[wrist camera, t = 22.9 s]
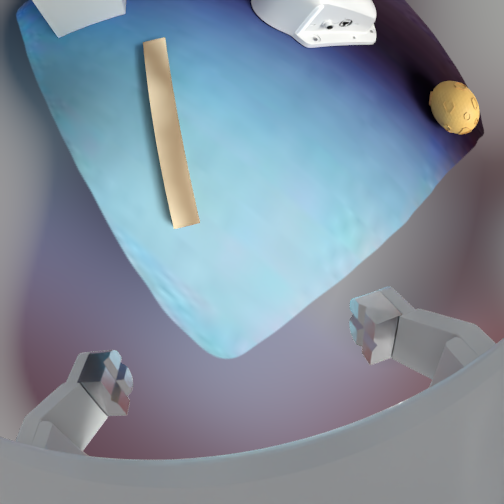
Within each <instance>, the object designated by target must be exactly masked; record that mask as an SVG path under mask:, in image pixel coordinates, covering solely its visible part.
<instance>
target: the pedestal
mask: <svg viewBox="0 0 504 504" xmlns="http://www.w3.org/2000/svg"><path fill="white" fill-rule="evenodd" d="M32 1H33V2H34V4H35V5H36V7H37V8H38V10H39V11H40V12H41V14H42V15H43V17H44V18H45V20H46V21H47V22H48V24H49V25H50V27H51V28H52V30H53V31H54V32H55V34H56V35H57V37H58V38H60V37H62V36H64V35H67V34H69V33H71V32H74V31H76V30H79V29H81V28H84V27H86V26H89V25H92V24H95V23H97V22H100V21H103V20H106V19H110V18H113V17H116V16H119V15H123V14H125V12H126V0H32Z"/></svg>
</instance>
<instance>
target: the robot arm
mask: <svg viewBox="0 0 504 504" xmlns="http://www.w3.org/2000/svg"><path fill="white" fill-rule="evenodd" d="M251 4H252V7H253V10H254V11H255V13H256V14H257V15H258V16H259V17H260V18H261V19H262V20H263V21H264V22H266V23H267V24H269V25H270V26H272V27H274V28H276V29H278V30H280V31H282V32H284V33H287V34H289V35H290V36H292V37H293V38H294V39H296V40H297V41H298V42H299V43H300V44H302V45H303V46H305V47H308V48H314V47H324V46H338V45H369V44H373V43H374V42H375V41H376V30H375V27H374V24H373V23H374V22H375V20H376V9H375V6H374V4H373V2H372V0H251ZM313 39H314V40H315V41H314V40H313ZM350 310H351V312H352V313H353V315H352V317H351V318H350V331H351V335H352V338H353V340H354V341H355V343H356V344H357V345H359V346H362V354H363V355H364V357H365V358H366V360H367V361H368V363H369V364H370V365H373V364H375V363H378V362H381V361H384V360H386V359H389V358H391V357H392V359H394V360H396V361H398V362H399V363H401V364H403V365H405V366H407V367H409V368H411V369H413V370H415V371H417V372H419V373H421V374H423V375H425V376H427V377H429V378H431V379H432V382H431V384H430V386H429V388H428V389H426V390H424V391H422V392H420V393H419V394H417V395H415V396H413V397H411V398H409V399H407V400H405V401H403V402H401V403H399V404H396V405H395V406H392V407H390V408H388V409H385V410H383V411H381V412H378V413H376V414H374V415H371V416H369V417H366V418H364V419H361V420H359V421H356V422H354V423H351V424H348V425H345V426H343V427H340V428H337V429H334V430H331V431H328V432H325V433H321V434H318V435H315V436H311V437H308V438H305V439H301V440H297V441H293V442H289V443H285V444H281V445H277V446H272V447H267V448H263V449H257V450H253V451H247V452H241V453H234V454H227V455H220V456H211V457H202V458H189V459H173V460H172V459H170V460H130V459H113V458H101V457H92V456H88V455H87V454H86V453H84V452H83V450H84V449H85V447H86V446H87V444H88V443H89V442H90V440H91V439H92V438H93V436H94V435H95V434H96V432H97V430H99V428H100V427H101V426H102V424H103V423H104V422H105V420H106V419H107V418H108V417H107V416H119V415H127V414H128V409H129V404H130V400H129V398H128V397H127V396H128V395H129V394H130V393H131V392H132V388H133V380H132V375H131V373H130V370H129V369H128V367H127V366H125V365H124V364H122V363H121V359H122V358H121V356H120V354H119V353H118V351H116V350H106V351H94V352H84V353H80V354H79V355H78V357H77V359H76V361H75V363H74V365H73V368H72V370H71V372H70V375H69V377H68V379H67V381H66V383H63V384H61V385H60V386H59V387H58V388H57V389H56V390H55V391H54V392H52V393H51V394H50V395H49V396H48V397H47V398H46V399H44V400H43V401H42V402H41V403H40V404H39V405H38V406H37V407H35V408H34V409H33V410H32V411H31V412H30V413H29V414H28V415H26V416H25V418H24V420H23V423H22V425H21V428H20V431H19V433H18V436H17V438H16V441H13V440H10V439H6V438H3V437H0V504H504V338H503V339H502V340H501V341H500V342H498V343H497V344H496V343H495V342H494V341H493V340H492V339H491V338H490V337H489V336H487V335H486V334H485V333H484V332H483V331H482V330H481V329H480V328H479V327H478V326H477V325H476V324H473V323H469V322H466V321H462V320H458V319H455V318H451V317H448V316H444V315H440V314H437V313H434V312H430V311H426V310H423V309H420V308H419V309H416V310H415V309H414V308H413V307H412V306H411V305H410V304H409V303H408V302H407V301H406V300H405V299H404V298H403V297H402V296H401V295H400V294H399V293H398V292H396V291H395V290H394V289H393V288H392V287H390V286H388V287H385V288H382V289H380V290H377V291H375V292H372V293H369V294H366V295H363V296H360V297H356V298H353V299H351V301H350Z"/></svg>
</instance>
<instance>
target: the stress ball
mask: <svg viewBox="0 0 504 504" xmlns="http://www.w3.org/2000/svg"><path fill="white" fill-rule="evenodd" d="M429 106H431V110H432V113H433V115H434V117H435V119H436V120H437V122H438V123H439V124H440V125H441V126H442V127H443V128H445V129H446V131H448V132H451V133H452V132H453V133H458V134H466V133H469V132H471V131H472V129H473V128H474V127H475V126H476V124H477V123H478V119H479V105H478V102H477V100H476V98H475V96H474V95H473V93H472V92H471V91H470V90H469V89H468V88H467V87H466V86H465V85H464V84H462V83H459V82H455V81H445V82H442V83H440V84H438V85H437V86H436V87H435V88H434V90H433V92H432V91H431V92H430V99H429Z"/></svg>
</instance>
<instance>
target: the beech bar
mask: <svg viewBox="0 0 504 504" xmlns="http://www.w3.org/2000/svg"><path fill="white" fill-rule="evenodd" d="M143 47H144V58H145V67H146V76H147V84H148V92H149V99H150V106H151V113H152V120H153V126H154V132H155V138H156V144H157V150H158V155H159V160H160V166H161V171H162V176H163V181H164V186H165V191H166V195H167V200H168V205H169V209H170V214H171V218H172V222H173V227H174V229H177V228H181V227H185V226H189V225H193V224H197V223H200V220H199V216H198V212H197V207H196V203H195V198H194V194H193V189H192V185H191V180H190V175H189V171H188V166H187V161H186V156H185V151H184V146H183V141H182V136H181V131H180V125H179V120H178V115H177V109H176V104H175V98H174V92H173V86H172V80H171V74H170V68H169V61H168V55H167V48H166V41H165V37H164V38H159V39H155V40H151V41H147V42H143Z"/></svg>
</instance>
